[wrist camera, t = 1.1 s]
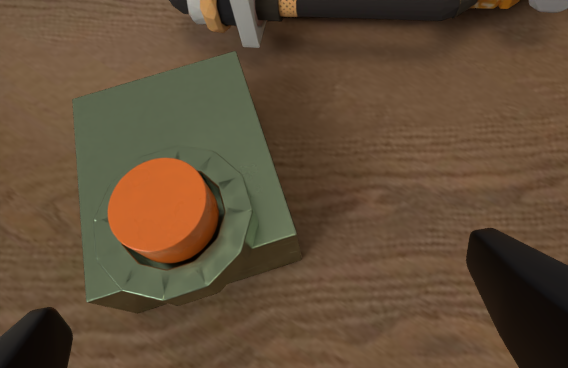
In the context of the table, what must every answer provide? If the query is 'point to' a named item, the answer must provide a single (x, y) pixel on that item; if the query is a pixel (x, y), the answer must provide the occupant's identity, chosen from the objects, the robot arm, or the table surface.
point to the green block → (199, 154)
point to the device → (332, 11)
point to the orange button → (163, 210)
